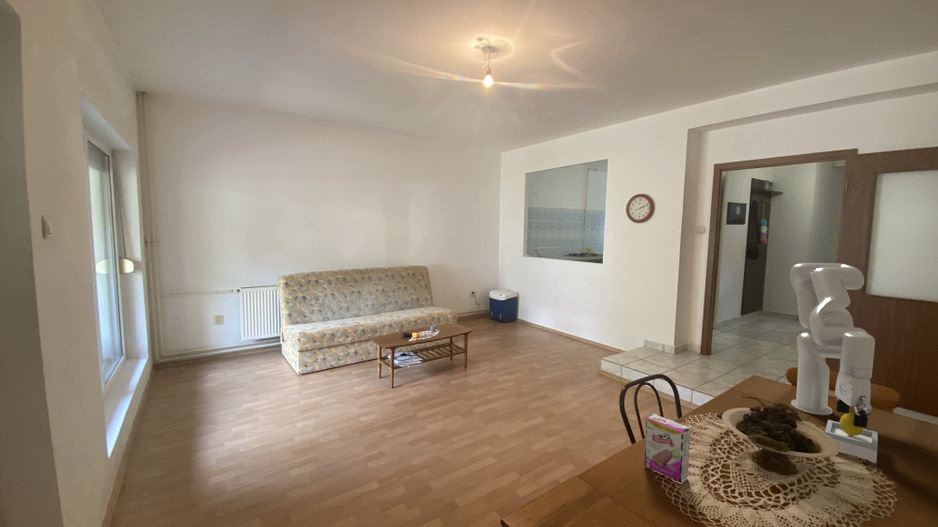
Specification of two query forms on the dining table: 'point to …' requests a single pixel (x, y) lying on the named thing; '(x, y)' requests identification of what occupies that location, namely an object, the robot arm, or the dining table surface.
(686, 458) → the candy bar box
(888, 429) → the dining table surface
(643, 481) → the dining table surface
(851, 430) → the lemon
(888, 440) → the dining table surface
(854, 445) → the tray
